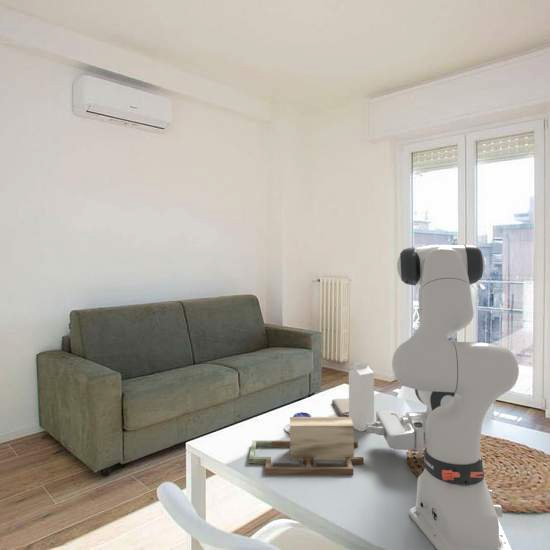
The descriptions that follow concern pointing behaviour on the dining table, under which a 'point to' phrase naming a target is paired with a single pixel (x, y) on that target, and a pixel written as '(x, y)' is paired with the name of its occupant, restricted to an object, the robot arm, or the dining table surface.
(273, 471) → the frame
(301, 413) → the pudding
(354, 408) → the milk
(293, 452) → the beige rectangular block
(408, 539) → the dining table surface
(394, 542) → the dining table surface
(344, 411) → the washcloth
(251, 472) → the dining table surface
